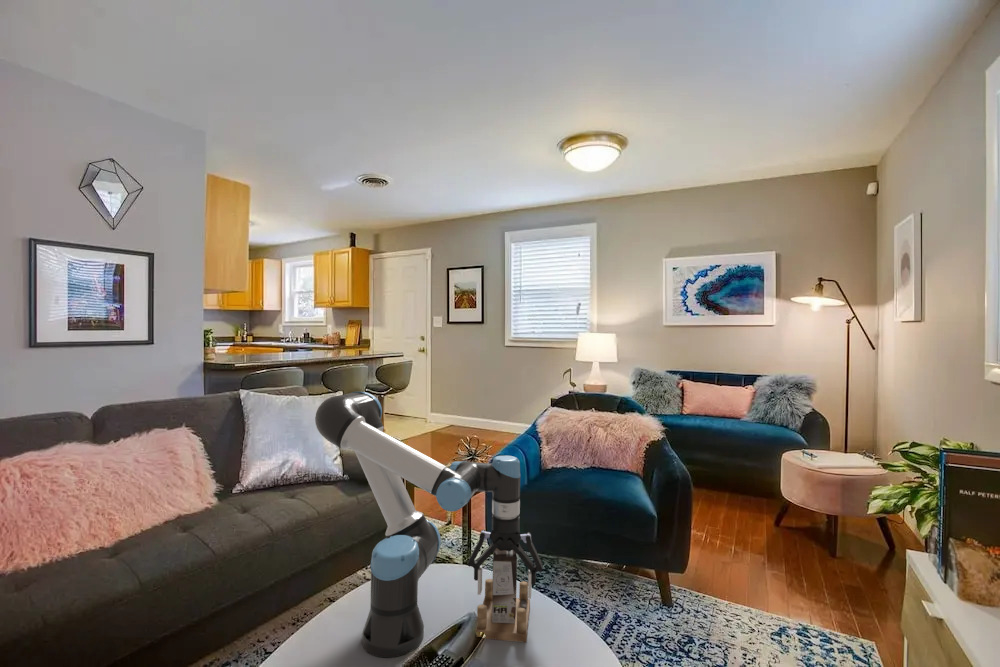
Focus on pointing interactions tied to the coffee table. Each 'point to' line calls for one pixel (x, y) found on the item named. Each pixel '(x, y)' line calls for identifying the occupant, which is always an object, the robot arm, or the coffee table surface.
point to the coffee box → (504, 586)
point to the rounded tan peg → (523, 592)
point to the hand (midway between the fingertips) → (504, 594)
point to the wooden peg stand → (502, 629)
